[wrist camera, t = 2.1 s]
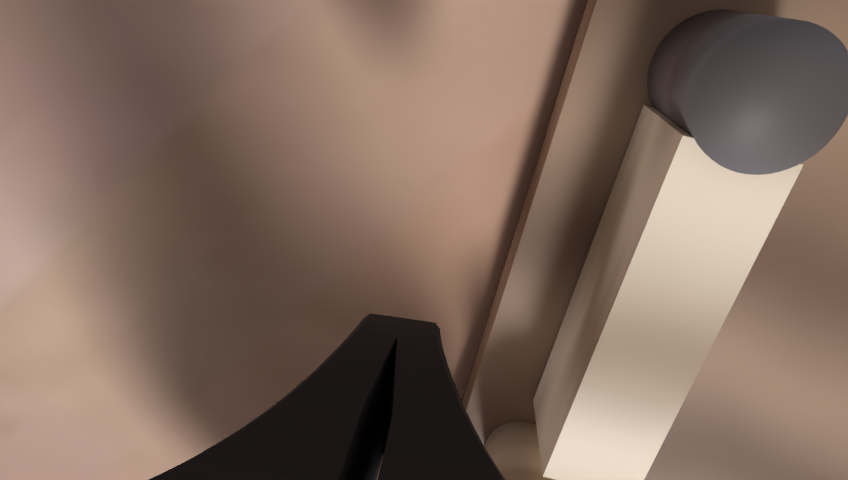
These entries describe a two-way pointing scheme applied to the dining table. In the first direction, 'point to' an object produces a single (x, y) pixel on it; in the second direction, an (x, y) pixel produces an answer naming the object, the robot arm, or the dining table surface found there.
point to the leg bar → (683, 231)
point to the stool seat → (750, 313)
